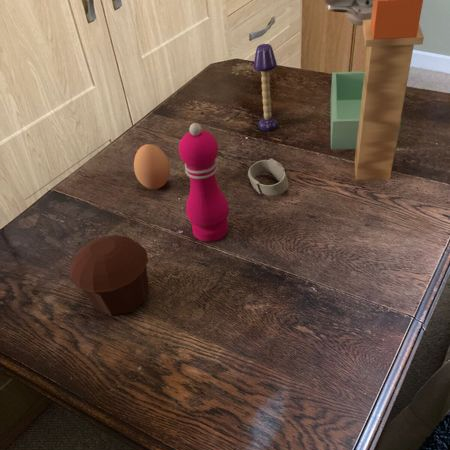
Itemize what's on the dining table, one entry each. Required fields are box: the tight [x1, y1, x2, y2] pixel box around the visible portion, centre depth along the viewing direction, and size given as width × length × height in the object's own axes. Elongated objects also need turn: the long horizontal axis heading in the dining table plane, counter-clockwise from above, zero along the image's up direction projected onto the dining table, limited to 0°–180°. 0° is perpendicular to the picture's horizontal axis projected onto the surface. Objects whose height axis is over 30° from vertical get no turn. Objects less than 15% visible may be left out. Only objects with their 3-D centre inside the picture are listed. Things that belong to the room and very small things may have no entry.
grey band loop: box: [247, 157, 290, 196], centre depth 91 cm, size 9×6×5 cm
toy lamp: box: [253, 43, 278, 132], centre depth 103 cm, size 5×5×17 cm
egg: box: [133, 143, 171, 190], centre depth 94 cm, size 7×7×9 cm
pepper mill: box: [178, 122, 230, 243], centre depth 79 cm, size 7×7×20 cm
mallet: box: [371, 0, 424, 39], centre depth 74 cm, size 6×16×5 cm, turn 172°
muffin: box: [69, 234, 149, 317], centre depth 74 cm, size 12×11×10 cm
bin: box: [330, 70, 402, 150], centre depth 103 cm, size 13×22×6 cm, turn 172°
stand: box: [354, 20, 425, 181], centre depth 83 cm, size 8×8×26 cm
